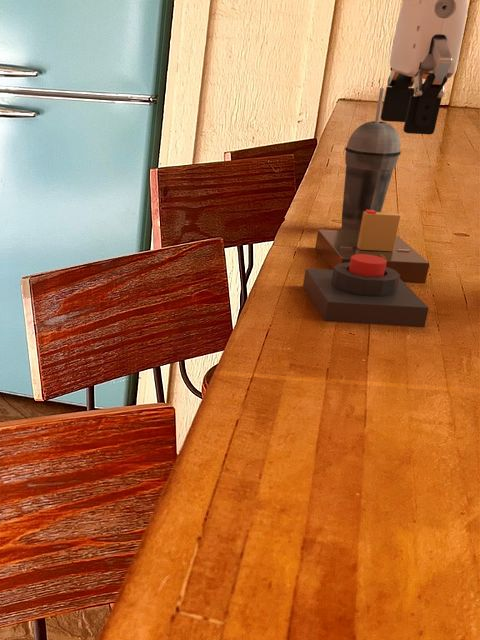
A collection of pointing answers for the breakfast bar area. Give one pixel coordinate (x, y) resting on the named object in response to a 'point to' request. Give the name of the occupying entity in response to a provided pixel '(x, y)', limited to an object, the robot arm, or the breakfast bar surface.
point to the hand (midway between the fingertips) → (405, 127)
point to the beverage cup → (368, 168)
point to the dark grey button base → (364, 297)
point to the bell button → (367, 265)
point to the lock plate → (344, 245)
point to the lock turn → (378, 231)
